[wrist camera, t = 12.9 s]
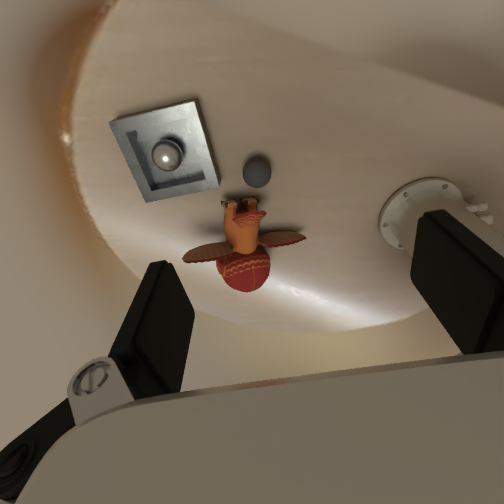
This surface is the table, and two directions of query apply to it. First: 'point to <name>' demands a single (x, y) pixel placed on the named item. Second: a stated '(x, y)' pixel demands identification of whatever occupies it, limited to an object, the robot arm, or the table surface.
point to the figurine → (242, 247)
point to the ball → (257, 173)
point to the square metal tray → (179, 131)
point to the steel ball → (167, 155)
